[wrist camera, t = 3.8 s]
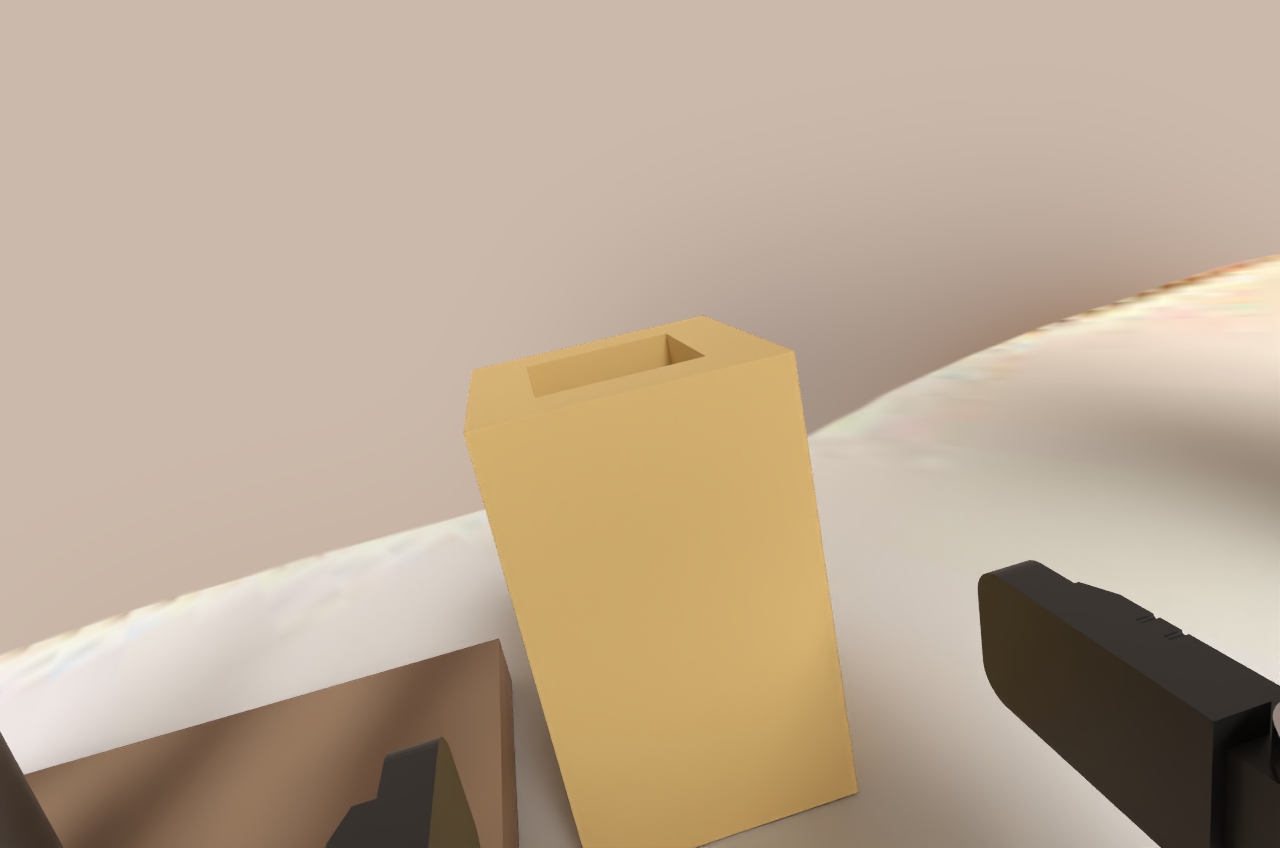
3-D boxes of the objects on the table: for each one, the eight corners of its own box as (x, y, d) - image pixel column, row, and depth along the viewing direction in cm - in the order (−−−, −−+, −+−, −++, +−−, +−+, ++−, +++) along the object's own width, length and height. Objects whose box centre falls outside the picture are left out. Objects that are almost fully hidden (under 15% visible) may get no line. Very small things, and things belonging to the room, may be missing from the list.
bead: (762, 645, 22) (702, 315, 19) (858, 792, 16) (794, 351, 13) (564, 705, 21) (472, 370, 18) (592, 882, 15) (463, 433, 12)
